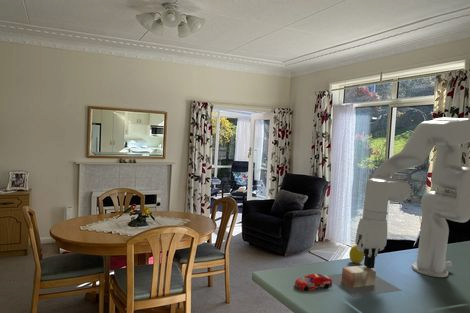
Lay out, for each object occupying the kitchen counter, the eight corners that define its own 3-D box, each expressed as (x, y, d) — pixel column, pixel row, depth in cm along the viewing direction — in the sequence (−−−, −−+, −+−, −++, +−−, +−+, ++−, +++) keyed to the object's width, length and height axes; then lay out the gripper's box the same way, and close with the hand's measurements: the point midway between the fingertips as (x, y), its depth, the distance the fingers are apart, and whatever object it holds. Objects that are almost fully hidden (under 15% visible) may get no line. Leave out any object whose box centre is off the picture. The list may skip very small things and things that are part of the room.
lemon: (364, 268, 140) (366, 248, 140) (349, 265, 141) (351, 246, 141) (362, 262, 146) (364, 243, 145) (347, 260, 147) (349, 241, 146)
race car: (299, 293, 115) (300, 281, 115) (291, 285, 120) (292, 274, 120) (334, 289, 120) (335, 277, 120) (325, 282, 125) (326, 270, 125)
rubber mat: (367, 272, 136) (368, 271, 136) (401, 291, 121) (401, 290, 121) (323, 277, 128) (323, 275, 128) (353, 298, 114) (353, 296, 113)
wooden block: (365, 265, 128) (342, 267, 124) (376, 270, 123) (352, 273, 119) (364, 278, 128) (341, 281, 124) (374, 284, 124) (350, 287, 120)
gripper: (383, 211, 130) (377, 261, 131) (349, 212, 124) (344, 264, 126) (399, 217, 123) (393, 269, 124) (364, 218, 117) (358, 273, 119)
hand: (368, 266), depth 125 cm, fingers closed
